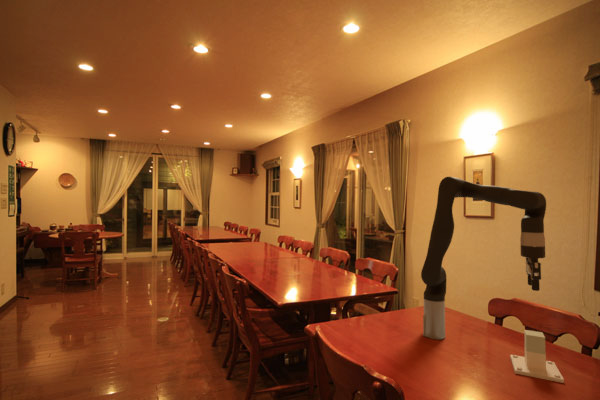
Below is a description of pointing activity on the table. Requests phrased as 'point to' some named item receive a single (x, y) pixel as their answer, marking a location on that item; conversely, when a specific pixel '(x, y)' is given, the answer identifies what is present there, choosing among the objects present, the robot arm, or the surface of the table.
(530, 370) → the baseplate
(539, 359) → the cream brick
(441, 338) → the robot arm
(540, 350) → the sage brick
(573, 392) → the table surface
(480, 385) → the table surface
